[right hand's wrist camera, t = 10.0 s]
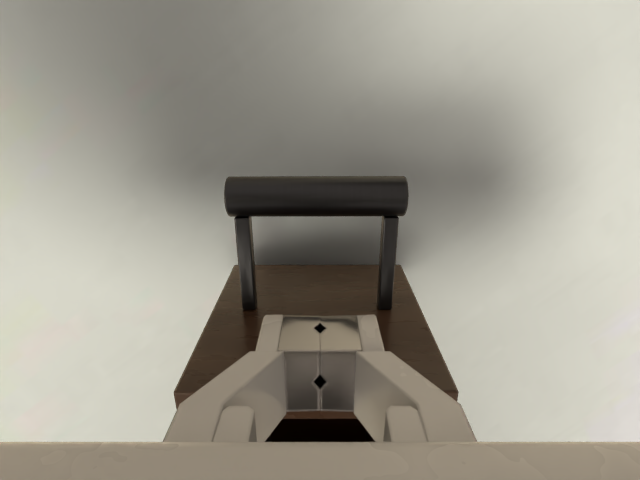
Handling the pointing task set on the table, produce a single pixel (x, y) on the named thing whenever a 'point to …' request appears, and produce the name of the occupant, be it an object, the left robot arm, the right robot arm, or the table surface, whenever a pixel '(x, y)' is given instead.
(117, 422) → the table surface
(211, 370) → the drawer
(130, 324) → the table surface
